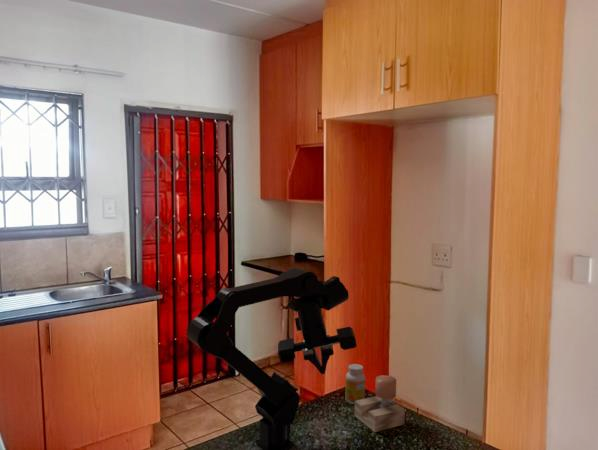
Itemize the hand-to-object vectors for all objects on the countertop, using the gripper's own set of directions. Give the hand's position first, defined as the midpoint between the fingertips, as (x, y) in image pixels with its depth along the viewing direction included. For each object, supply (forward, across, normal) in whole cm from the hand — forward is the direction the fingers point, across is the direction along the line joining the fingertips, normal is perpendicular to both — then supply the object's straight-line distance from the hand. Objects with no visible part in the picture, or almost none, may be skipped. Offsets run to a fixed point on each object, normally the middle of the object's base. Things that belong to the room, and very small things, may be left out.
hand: (323, 373), depth 116 cm
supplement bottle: (+18, -7, -10) cm, 21 cm away
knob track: (+16, -11, +1) cm, 20 cm away
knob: (+15, -13, 0) cm, 20 cm away
